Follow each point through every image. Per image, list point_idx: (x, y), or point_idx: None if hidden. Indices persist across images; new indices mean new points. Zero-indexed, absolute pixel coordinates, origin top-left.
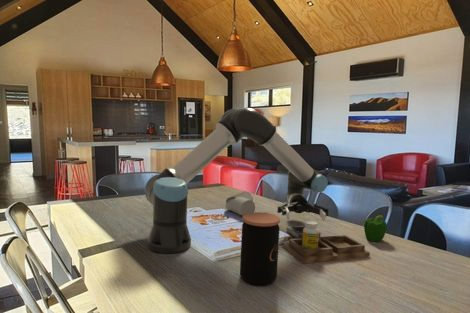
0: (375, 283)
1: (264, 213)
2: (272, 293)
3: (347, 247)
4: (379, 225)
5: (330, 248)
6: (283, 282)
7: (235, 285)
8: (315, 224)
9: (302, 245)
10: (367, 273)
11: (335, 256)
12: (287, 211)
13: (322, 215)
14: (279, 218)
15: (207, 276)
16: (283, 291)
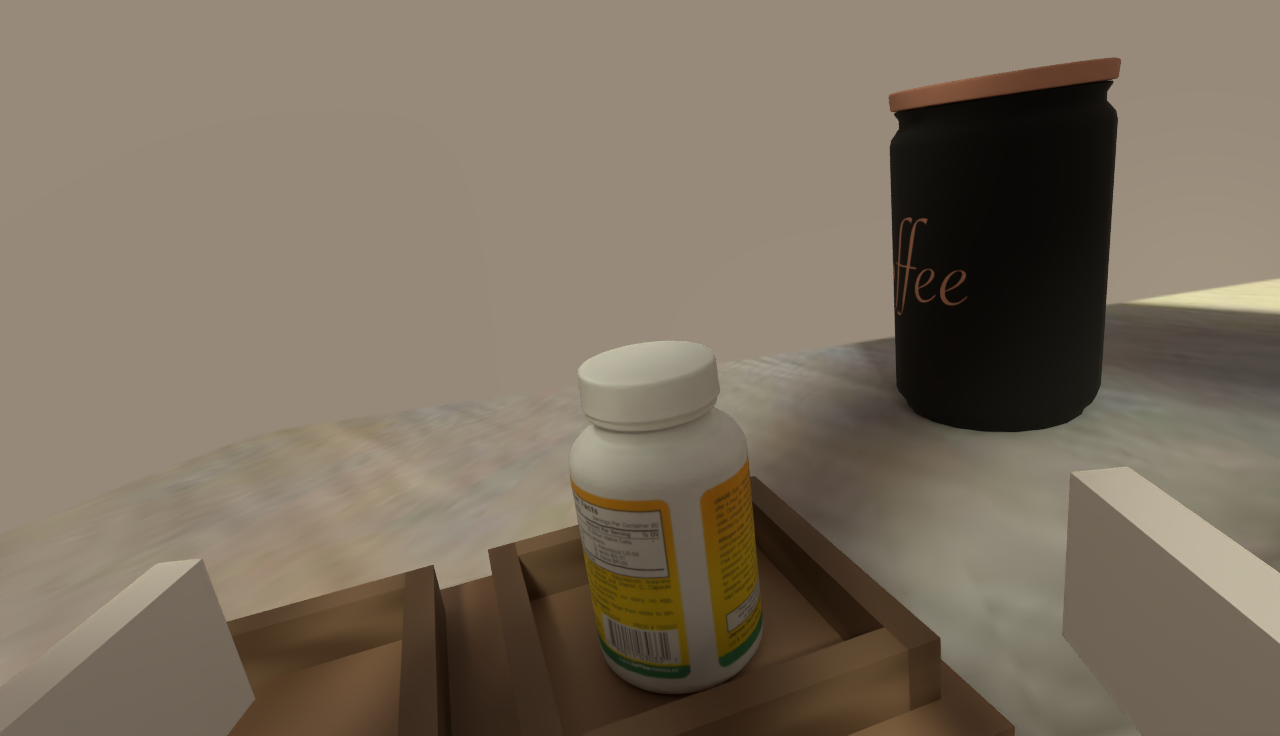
0: (438, 467)
1: (1012, 72)
2: (889, 367)
3: (325, 597)
4: None
5: (512, 544)
6: (862, 404)
7: None
8: (614, 351)
9: (760, 595)
10: (400, 518)
11: (492, 580)
12: (1149, 488)
13: (143, 703)
14: (894, 93)
15: (1241, 368)
16: (851, 378)
